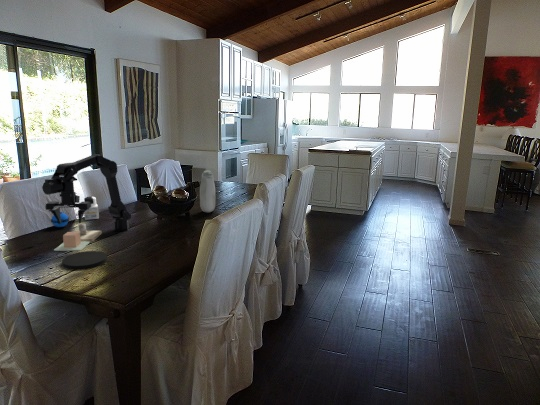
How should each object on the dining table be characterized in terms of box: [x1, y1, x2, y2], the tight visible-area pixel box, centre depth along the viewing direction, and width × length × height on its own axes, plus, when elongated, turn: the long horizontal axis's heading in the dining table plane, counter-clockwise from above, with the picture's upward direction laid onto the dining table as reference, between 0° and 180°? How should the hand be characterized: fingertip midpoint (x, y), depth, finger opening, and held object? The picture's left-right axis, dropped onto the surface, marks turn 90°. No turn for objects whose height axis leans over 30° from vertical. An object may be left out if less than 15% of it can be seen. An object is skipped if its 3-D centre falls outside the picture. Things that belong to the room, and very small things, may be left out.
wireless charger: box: [61, 250, 108, 271], centre depth 169 cm, size 18×18×2 cm
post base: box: [72, 223, 103, 243], centre depth 200 cm, size 14×14×7 cm
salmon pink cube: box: [62, 231, 81, 247], centre depth 186 cm, size 6×6×6 cm
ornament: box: [50, 211, 70, 228], centre depth 216 cm, size 9×9×10 cm
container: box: [83, 196, 100, 221], centre depth 236 cm, size 8×8×13 cm
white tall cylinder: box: [199, 169, 216, 213], centre depth 255 cm, size 10×10×28 cm
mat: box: [53, 241, 91, 252], centre depth 187 cm, size 12×12×1 cm
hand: (70, 223), depth 184 cm, fingers open, 9 cm apart
